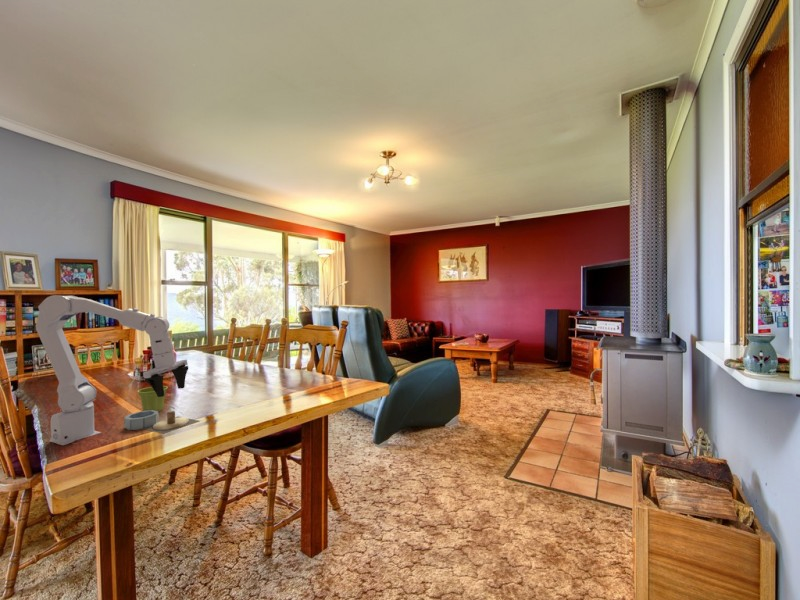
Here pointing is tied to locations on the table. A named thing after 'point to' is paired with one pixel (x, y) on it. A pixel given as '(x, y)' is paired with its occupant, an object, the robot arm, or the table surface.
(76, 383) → the robot arm
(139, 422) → the bowl
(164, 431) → the mat
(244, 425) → the table surface
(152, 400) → the plant pot
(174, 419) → the lid
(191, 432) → the table surface
